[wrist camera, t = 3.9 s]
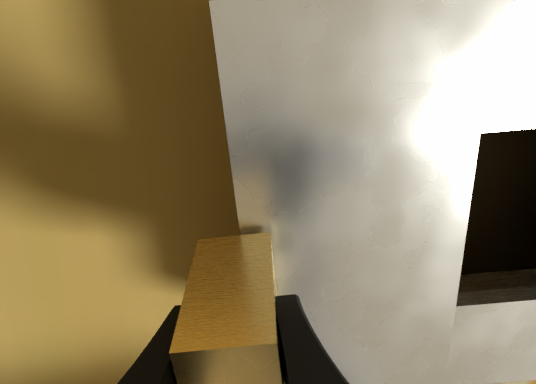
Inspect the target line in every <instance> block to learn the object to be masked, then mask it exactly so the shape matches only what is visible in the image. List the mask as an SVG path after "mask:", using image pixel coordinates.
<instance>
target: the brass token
mask: <svg viewBox="0 0 536 384" xmlns="http://www.w3.org/2000/svg"><path fill="white" fill-rule="evenodd" d="M276 296H278V292H277V284H276V275H275V266H274V258H273V249H272V241H271V232H265V233H255V234H245V235H235V236H225V237H216V238H206V239H198V241H197V245H196V249H195V253H194V257H193V261H192V265H191V269H190V273H189V277H188V281H187V284H186V288H185V292H184V296H183V300H182V304H181V308H180V312H179V316H178V320H177V324H176V327H175V331H174V335H173V339H172V343H171V347H170V351H169V356H170V359H171V363H172V366H173V370H174V374H175V377H176V381H177V384H285V381H284V373H283V364H282V356H281V348H280V340H279V331H278V323H277V315H276Z"/></svg>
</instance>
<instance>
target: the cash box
mask: <svg viewBox="0 0 536 384" xmlns="http://www.w3.org/2000/svg"><path fill="white" fill-rule="evenodd" d="M209 6H210V13H211V21H212V28H213V36H214V43H215V51H216V58H217V66H218V73H219V81H220V88H221V96H222V103H223V111H224V118H225V126H226V133H227V141H228V148H229V156H230V163H231V171H232V178H233V186H234V193H235V201H236V208H237V216H238V223H239V231H240V235H245V234H255V233H265V232H271V241H272V249H273V258H274V266H275V275H276V284H277V292H278V296H281V295H291V294H296V295H297V296H299V298H300V302H301V305H302V307H303V310H304V312H305V314H306V317H307V319H308V321H309V323H310V325H311V326H312V328H313V330H314V332H315V334H316V335H317V337H318V339H319V340H320V342H321V344H322V345H323V347H324V349H325V350H326V352H327V353H328V355H329V356H330V358H331V359H332V361H333V362H334V363H335V365H336V366H337V368H338V369H339V371H340V372H341V373H342V375H343V376H344V377H345V379H346V380H347V381H348V382H349V384H489V383H501V382H514V381H526V380H536V269H524V270H513V271H501V272H489V273H477V274H466V275H461V268H462V261H463V254H464V247H465V240H466V233H467V226H468V219H469V212H470V205H471V198H472V191H473V184H474V177H475V170H476V163H477V156H478V149H479V142H480V135H481V133H492V132H504V131H515V130H526V129H536V0H210V1H209Z"/></svg>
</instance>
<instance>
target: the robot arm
mask: <svg viewBox="0 0 536 384" xmlns="http://www.w3.org/2000/svg"><path fill="white" fill-rule="evenodd" d="M180 308H181V305H178V306H175V307H174V308H173V309H172V310H171V312H170V313H169V315H168V316H167V318H166V319H165V321H164V322H163V324H162V325H161V326H160V328H159V329H158V331H157V332H156V334H155V335H154V337H153V338H152V339H151V341H150V342H149V344H148V345H147V346H146V348H145V349H144V350H143V352H142V353H141V354H140V356H139V357H138V358H137V360H136V361H135V362H134V364H133V365H132V366H131V367H130V369H129V370H128V371H127V372H126V374H125V375H124V376H123V377H122V379H121V380H120V381H119V382H118V383H117V384H177V381H176V377H175V374H174V370H173V366H172V363H171V359H170V356H169V351H170V347H171V343H172V339H173V335H174V331H175V327H176V324H177V320H178V316H179V312H180ZM276 315H277V323H278V331H279V340H280V348H281V356H282V364H283V373H284V381H285V384H349V382H348V381H347V380H346V379H345V377H344V376H343V375H342V373H341V372H340V371H339V369H338V368H337V366H336V365H335V363H334V362H333V361H332V359H331V358H330V356H329V355H328V353H327V352H326V350H325V349H324V347H323V345H322V344H321V342H320V340H319V339H318V337H317V335H316V334H315V332H314V330H313V328H312V326H311V325H310V323H309V321H308V319H307V317H306V314H305V312H304V310H303V307H302V305H301V302H300V298H299V296H297V295H296V294H291V295H281V296H276Z"/></svg>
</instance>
